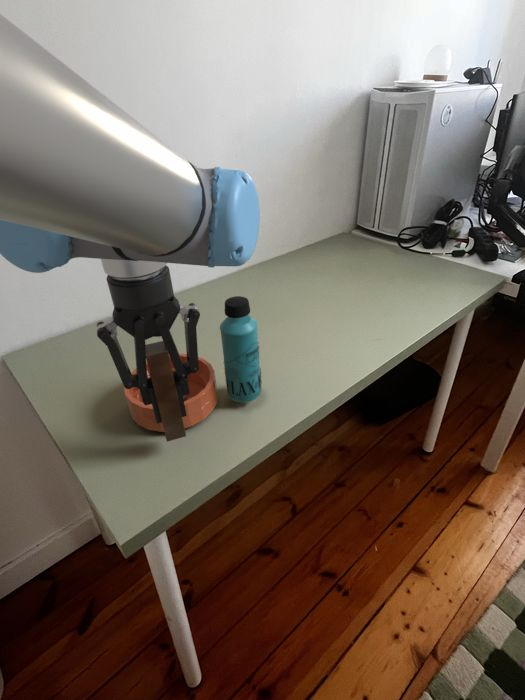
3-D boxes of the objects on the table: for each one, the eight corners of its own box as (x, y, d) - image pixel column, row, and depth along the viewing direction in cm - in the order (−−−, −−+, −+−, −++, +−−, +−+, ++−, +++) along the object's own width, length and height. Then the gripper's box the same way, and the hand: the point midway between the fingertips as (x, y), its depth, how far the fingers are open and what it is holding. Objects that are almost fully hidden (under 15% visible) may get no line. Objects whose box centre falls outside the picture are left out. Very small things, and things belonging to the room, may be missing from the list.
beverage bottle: (221, 405, 78) (208, 307, 67) (236, 383, 83) (226, 289, 72) (254, 413, 76) (246, 313, 65) (268, 390, 81) (263, 293, 70)
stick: (182, 423, 69) (164, 340, 60) (186, 436, 67) (168, 351, 58) (163, 429, 68) (142, 345, 60) (166, 441, 66) (145, 356, 57)
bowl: (178, 448, 70) (172, 421, 66) (113, 416, 77) (104, 389, 74) (235, 394, 80) (232, 368, 77) (173, 370, 88) (167, 345, 85)
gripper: (196, 248, 57) (216, 386, 70) (68, 269, 53) (114, 412, 66) (208, 268, 51) (228, 415, 64) (66, 294, 47) (117, 445, 60)
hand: (170, 413), depth 65 cm, fingers closed on stick, 3 cm apart
